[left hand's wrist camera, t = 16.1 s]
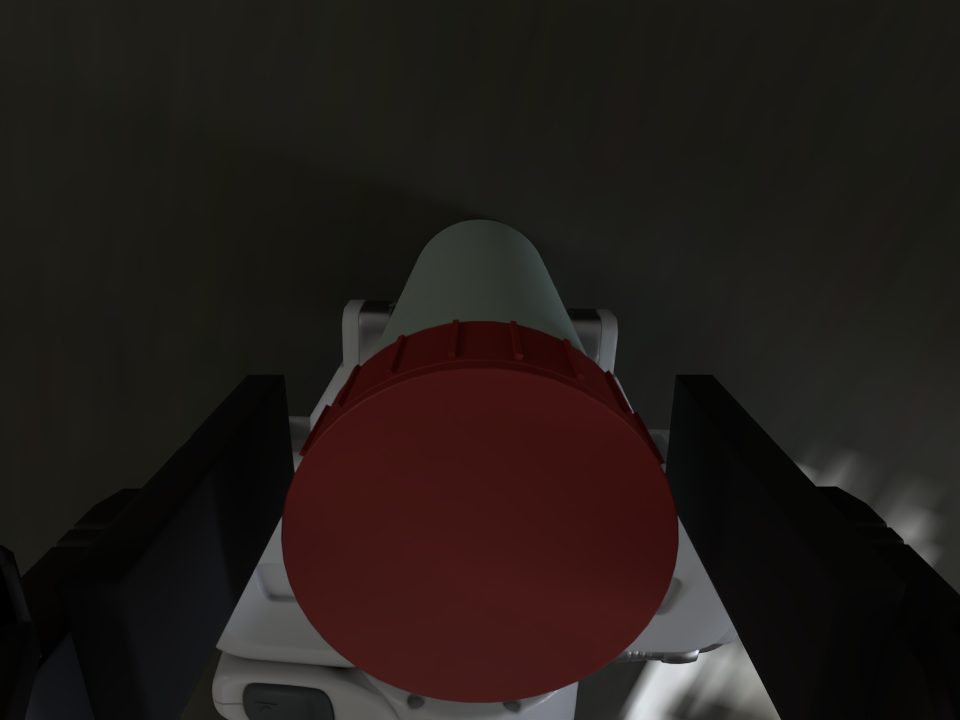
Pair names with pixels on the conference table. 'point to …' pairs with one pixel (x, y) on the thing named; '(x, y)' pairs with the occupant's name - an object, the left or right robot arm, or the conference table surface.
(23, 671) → the left robot arm
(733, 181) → the conference table surface
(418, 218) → the conference table surface
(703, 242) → the conference table surface
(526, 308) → the jar
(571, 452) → the lid
